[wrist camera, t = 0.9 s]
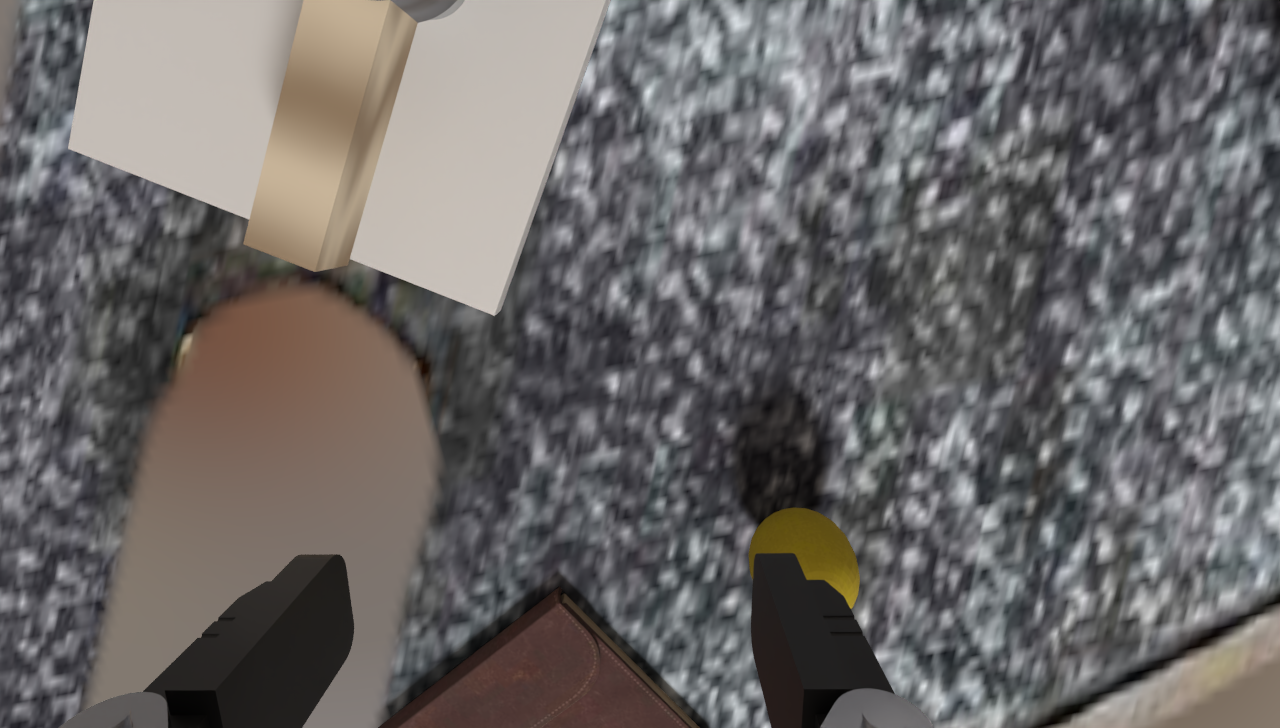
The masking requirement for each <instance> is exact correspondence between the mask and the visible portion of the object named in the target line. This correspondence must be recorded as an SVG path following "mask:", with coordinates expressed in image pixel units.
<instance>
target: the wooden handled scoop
mask: <svg viewBox="0 0 1280 728" xmlns="http://www.w3.org/2000/svg"><path fill="white" fill-rule="evenodd" d="M456 1H457V0H303V4H302V9H301V13H300V17H299V21H298V25H297V29H296V33H295V37H294V41H293V45H292V49H291V53H290V57H289V61H288V65H287V69H286V73H285V77H284V81H283V86H282V90H281V94H280V98H279V102H278V106H277V110H276V114H275V118H274V122H273V126H272V130H271V134H270V138H269V142H268V146H267V150H266V154H265V158H264V163H263V167H262V171H261V175H260V179H259V183H258V187H257V191H256V195H255V199H254V203H253V207H252V211H251V215H250V219H249V223H248V227H247V231H246V236H245V240H244V245H247V246H249V247H252V248H255V249H257V250H260V251H262V252H265V253H267V254H270V255H273V256H275V257H278V258H280V259H283V260H286V261H288V262H291V263H293V264H296V265H298V266H301V267H304V268H306V269H309V270H311V271H314V272H317V271H322V270H327V269H332V268H337V267H342V266H346V265H348V263H349V259H350V256H351V252H352V249H353V245H354V242H355V238H356V235H357V232H358V228H359V225H360V221H361V218H362V214H363V211H364V207H365V204H366V200H367V197H368V193H369V190H370V187H371V183H372V180H373V176H374V173H375V169H376V166H377V162H378V159H379V155H380V152H381V149H382V145H383V142H384V138H385V135H386V131H387V128H388V124H389V121H390V117H391V114H392V110H393V107H394V104H395V100H396V97H397V93H398V90H399V86H400V83H401V79H402V76H403V72H404V69H405V66H406V62H407V59H408V55H409V52H410V48H411V45H412V41H413V38H414V34H415V31H416V27H417V24H418V23H419V22H424V21H427V20H430V19H432V18H435V17H437V16H439V15H440V14H442V13H444V12H445V11H446V10H448V9H449V8H450V7H451V6H452V5H453V4H454V3H455V2H456Z"/></svg>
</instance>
